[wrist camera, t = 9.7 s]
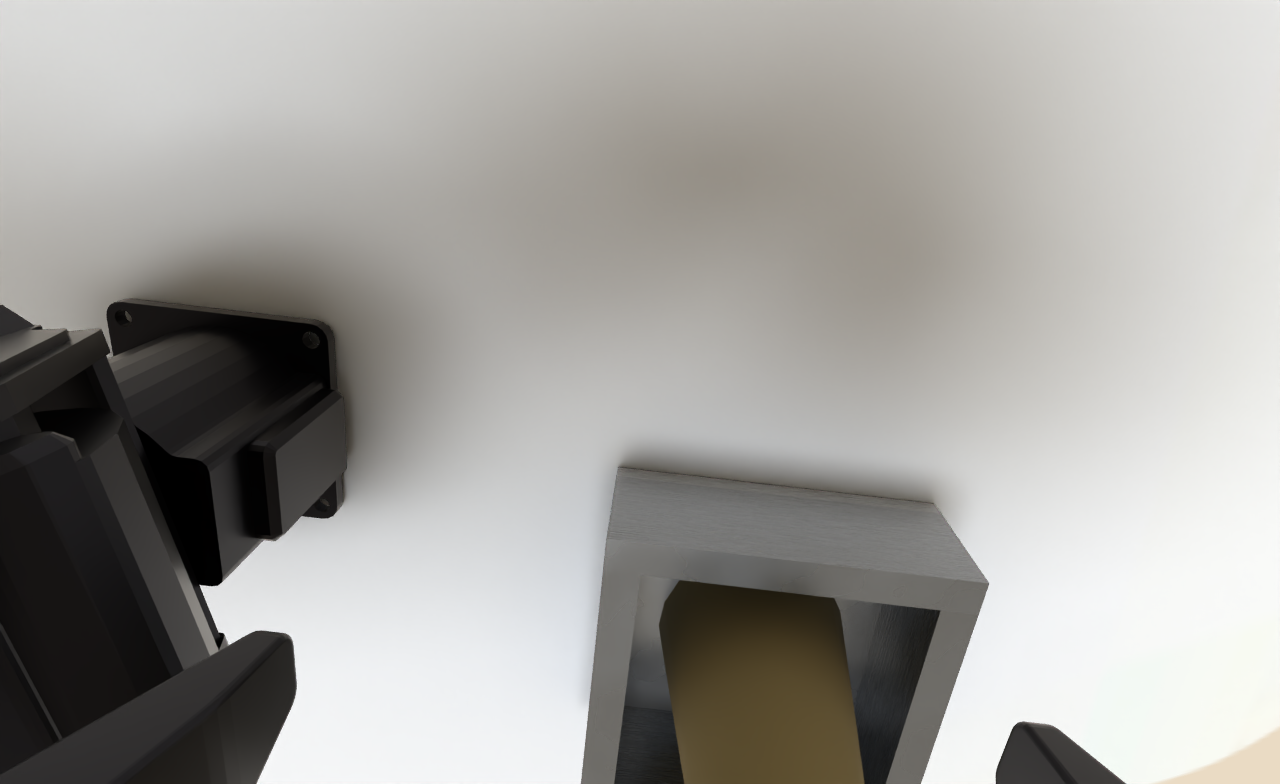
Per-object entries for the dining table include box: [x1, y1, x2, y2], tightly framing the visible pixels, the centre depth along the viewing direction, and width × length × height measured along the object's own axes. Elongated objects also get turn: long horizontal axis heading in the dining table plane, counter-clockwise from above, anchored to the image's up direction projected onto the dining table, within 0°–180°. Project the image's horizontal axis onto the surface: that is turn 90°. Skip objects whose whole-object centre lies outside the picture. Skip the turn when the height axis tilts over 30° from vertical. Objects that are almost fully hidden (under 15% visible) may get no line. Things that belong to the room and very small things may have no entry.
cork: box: [659, 580, 865, 784], centre depth 18 cm, size 6×6×11 cm
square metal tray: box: [581, 467, 989, 784], centre depth 22 cm, size 10×10×4 cm
